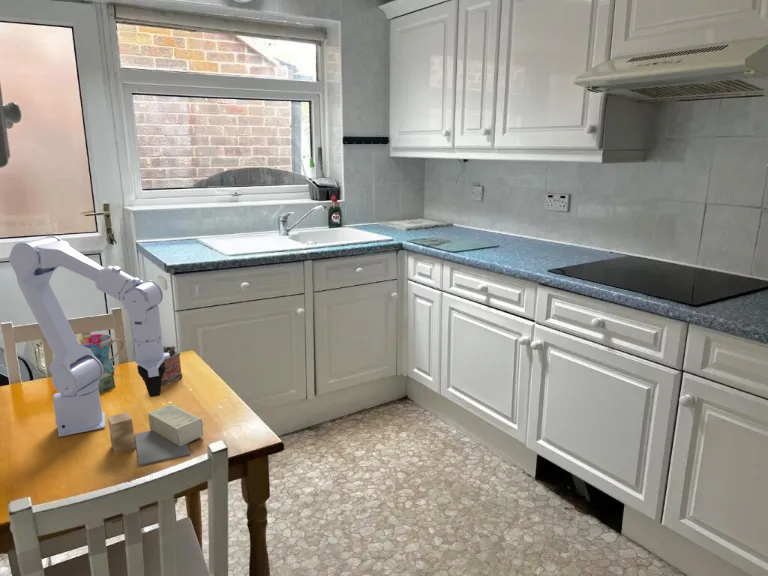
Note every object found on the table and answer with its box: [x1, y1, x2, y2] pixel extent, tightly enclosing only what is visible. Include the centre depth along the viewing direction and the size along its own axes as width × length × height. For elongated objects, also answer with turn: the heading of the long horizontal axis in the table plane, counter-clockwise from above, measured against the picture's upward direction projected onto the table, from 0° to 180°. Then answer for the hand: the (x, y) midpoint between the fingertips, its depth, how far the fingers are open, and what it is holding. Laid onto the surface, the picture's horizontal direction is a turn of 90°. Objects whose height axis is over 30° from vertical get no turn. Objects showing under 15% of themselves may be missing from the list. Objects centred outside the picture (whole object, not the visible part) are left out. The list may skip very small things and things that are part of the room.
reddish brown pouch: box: [161, 344, 183, 387], centre depth 156 cm, size 8×3×10 cm, turn 144°
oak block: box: [107, 411, 137, 455], centre depth 122 cm, size 4×4×7 cm
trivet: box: [134, 430, 191, 467], centre depth 124 cm, size 10×14×1 cm
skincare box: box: [147, 404, 204, 446], centre depth 128 cm, size 6×4×12 cm
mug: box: [77, 333, 124, 374], centre depth 162 cm, size 12×9×11 cm
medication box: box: [98, 372, 116, 394], centre depth 149 cm, size 12×3×4 cm, turn 146°
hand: (154, 395), depth 128 cm, fingers closed
